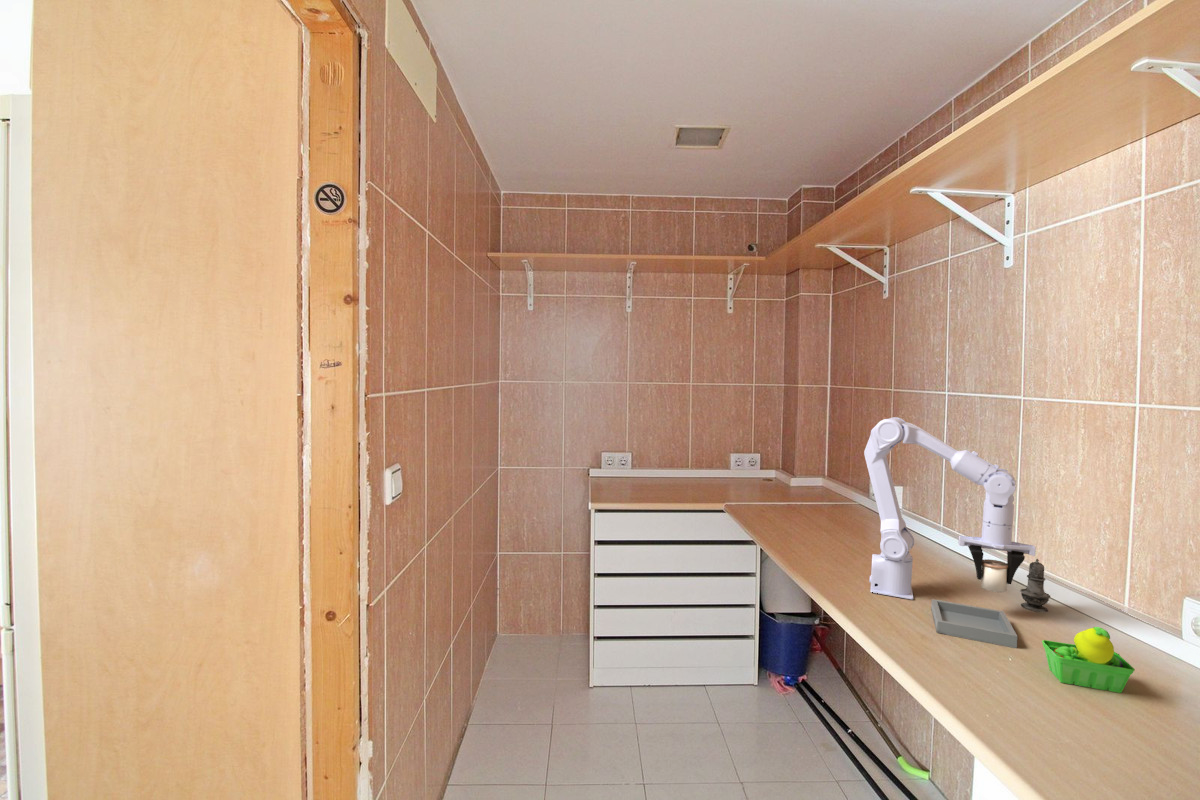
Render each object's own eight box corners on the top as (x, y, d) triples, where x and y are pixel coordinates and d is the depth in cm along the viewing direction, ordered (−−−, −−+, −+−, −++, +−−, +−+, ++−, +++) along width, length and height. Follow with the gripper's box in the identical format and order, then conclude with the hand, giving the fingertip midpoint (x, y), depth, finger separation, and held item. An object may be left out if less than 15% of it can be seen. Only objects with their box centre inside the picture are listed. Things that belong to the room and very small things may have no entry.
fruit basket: (1112, 677, 106) (1116, 617, 105) (1139, 702, 97) (1143, 637, 97) (1038, 665, 110) (1042, 607, 109) (1058, 688, 101) (1062, 626, 101)
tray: (936, 632, 122) (937, 621, 122) (931, 609, 135) (931, 598, 135) (1016, 648, 116) (1017, 636, 116) (1003, 622, 129) (1003, 611, 129)
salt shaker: (1055, 614, 134) (1058, 563, 134) (1026, 611, 135) (1030, 561, 135) (1041, 604, 140) (1044, 556, 139) (1014, 601, 141) (1017, 553, 141)
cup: (982, 590, 131) (983, 564, 131) (978, 583, 136) (979, 558, 136) (1009, 594, 129) (1010, 567, 129) (1005, 586, 134) (1005, 561, 134)
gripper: (962, 521, 132) (959, 580, 132) (1040, 531, 125) (1036, 592, 126) (958, 515, 138) (955, 570, 139) (1032, 524, 132) (1028, 582, 132)
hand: (993, 580), depth 133 cm, fingers closed on cup, 5 cm apart
